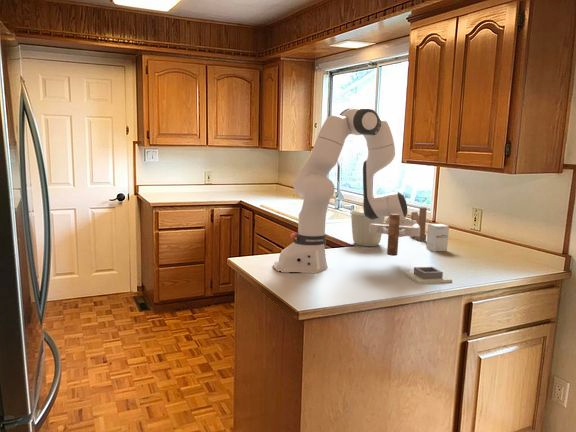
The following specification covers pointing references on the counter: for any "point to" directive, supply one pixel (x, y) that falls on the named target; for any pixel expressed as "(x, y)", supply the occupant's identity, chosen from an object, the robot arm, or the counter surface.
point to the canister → (364, 229)
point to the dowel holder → (427, 275)
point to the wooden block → (420, 223)
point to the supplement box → (437, 237)
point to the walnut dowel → (393, 234)
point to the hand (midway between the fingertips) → (393, 232)
